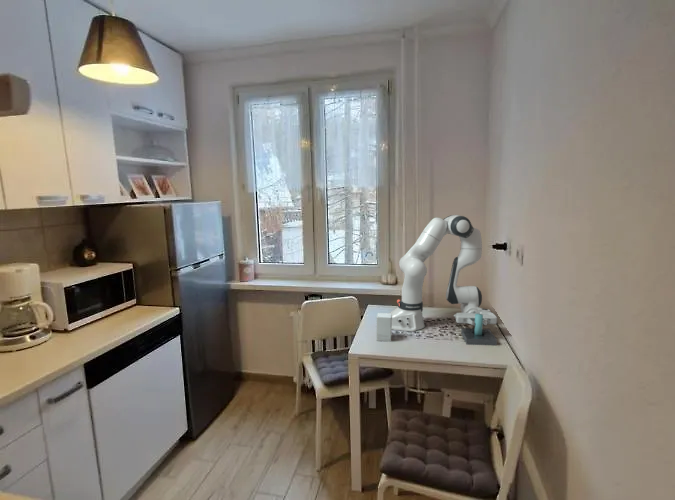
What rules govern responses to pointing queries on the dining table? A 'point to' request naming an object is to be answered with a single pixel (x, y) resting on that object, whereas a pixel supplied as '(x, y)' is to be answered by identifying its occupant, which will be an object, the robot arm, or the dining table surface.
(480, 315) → the peg
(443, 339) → the dining table surface
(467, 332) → the socket block
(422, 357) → the dining table surface
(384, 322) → the supplement box
